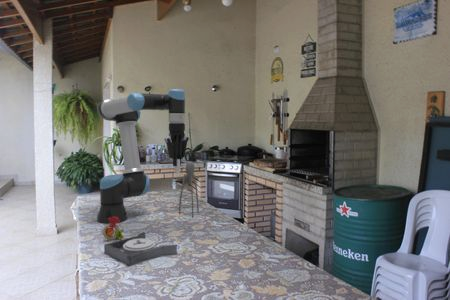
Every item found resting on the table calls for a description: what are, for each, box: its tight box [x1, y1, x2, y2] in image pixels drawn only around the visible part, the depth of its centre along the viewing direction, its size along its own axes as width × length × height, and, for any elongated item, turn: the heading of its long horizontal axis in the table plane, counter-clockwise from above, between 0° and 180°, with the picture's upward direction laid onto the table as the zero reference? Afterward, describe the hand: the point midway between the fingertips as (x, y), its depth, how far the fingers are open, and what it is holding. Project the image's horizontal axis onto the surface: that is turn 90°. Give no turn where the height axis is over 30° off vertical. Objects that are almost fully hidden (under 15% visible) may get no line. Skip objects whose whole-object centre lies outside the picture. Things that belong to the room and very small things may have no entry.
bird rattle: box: [102, 216, 124, 242], centre depth 168 cm, size 6×11×9 cm
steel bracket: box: [104, 231, 178, 267], centre depth 153 cm, size 24×21×4 cm
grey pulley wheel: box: [123, 238, 156, 255], centre depth 153 cm, size 13×13×5 cm
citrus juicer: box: [178, 161, 200, 218], centre depth 210 cm, size 11×10×30 cm
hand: (177, 172), depth 179 cm, fingers closed
